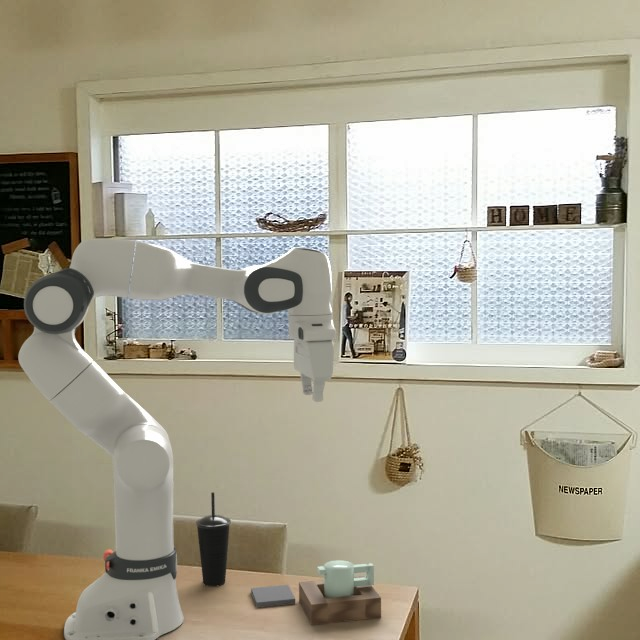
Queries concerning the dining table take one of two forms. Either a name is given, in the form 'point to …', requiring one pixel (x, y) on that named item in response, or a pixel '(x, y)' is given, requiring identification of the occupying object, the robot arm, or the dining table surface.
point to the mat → (272, 595)
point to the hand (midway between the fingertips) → (312, 397)
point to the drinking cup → (213, 546)
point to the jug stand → (338, 603)
